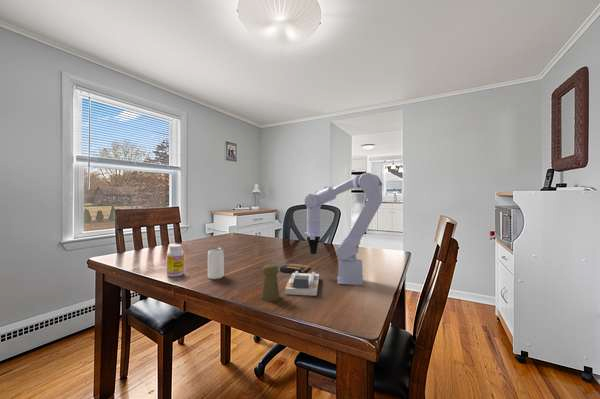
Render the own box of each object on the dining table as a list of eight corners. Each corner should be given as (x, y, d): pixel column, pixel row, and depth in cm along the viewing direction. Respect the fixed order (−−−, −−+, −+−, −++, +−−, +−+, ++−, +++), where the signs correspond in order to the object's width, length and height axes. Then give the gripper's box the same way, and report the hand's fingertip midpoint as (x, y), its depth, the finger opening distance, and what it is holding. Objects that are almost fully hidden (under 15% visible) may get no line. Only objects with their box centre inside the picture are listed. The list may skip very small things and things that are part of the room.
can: (227, 276, 107) (227, 248, 107) (214, 280, 101) (214, 251, 101) (217, 273, 110) (216, 246, 110) (204, 277, 105) (204, 249, 105)
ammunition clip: (300, 274, 109) (311, 268, 120) (300, 270, 109) (311, 264, 120) (279, 271, 114) (292, 265, 124) (279, 267, 114) (292, 261, 124)
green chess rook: (271, 302, 80) (271, 268, 80) (257, 298, 83) (257, 265, 83) (283, 296, 85) (282, 264, 85) (269, 292, 88) (269, 261, 88)
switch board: (319, 278, 104) (319, 270, 103) (316, 295, 86) (316, 285, 86) (292, 277, 105) (292, 269, 105) (284, 294, 87) (284, 283, 87)
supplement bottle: (172, 278, 105) (172, 247, 104) (163, 275, 108) (163, 245, 108) (187, 273, 110) (187, 244, 110) (178, 271, 114) (178, 243, 114)
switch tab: (309, 284, 91) (309, 275, 91) (308, 288, 87) (308, 279, 87) (295, 283, 91) (295, 275, 91) (293, 287, 87) (293, 278, 87)
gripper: (305, 220, 115) (306, 249, 115) (302, 223, 101) (302, 257, 101) (321, 220, 114) (321, 250, 115) (319, 224, 100) (319, 257, 100)
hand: (313, 253), depth 108 cm, fingers closed
